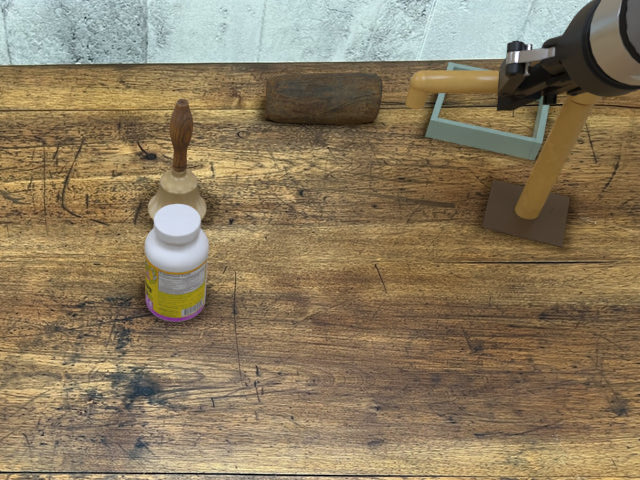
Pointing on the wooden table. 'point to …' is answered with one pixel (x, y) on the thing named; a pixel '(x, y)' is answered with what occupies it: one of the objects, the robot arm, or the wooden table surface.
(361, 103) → the dark brown wooden log
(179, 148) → the hand bell
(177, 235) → the supplement bottle
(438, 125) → the grey-green rectangular frame
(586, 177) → the wooden table surface
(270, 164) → the wooden table surface
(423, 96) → the spout
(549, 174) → the tap mount
